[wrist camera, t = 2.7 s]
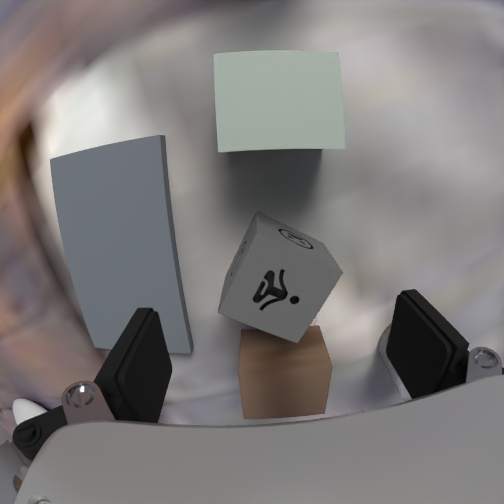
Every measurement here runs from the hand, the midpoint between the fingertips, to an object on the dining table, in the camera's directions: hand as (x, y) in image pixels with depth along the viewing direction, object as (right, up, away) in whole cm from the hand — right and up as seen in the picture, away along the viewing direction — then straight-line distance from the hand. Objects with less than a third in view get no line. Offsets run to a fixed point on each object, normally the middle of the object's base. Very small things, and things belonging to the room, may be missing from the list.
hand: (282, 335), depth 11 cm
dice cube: (0, +3, +10) cm, 10 cm away
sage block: (0, +12, +6) cm, 13 cm away
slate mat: (-11, +3, +9) cm, 15 cm away
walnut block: (+1, -5, +12) cm, 13 cm away
